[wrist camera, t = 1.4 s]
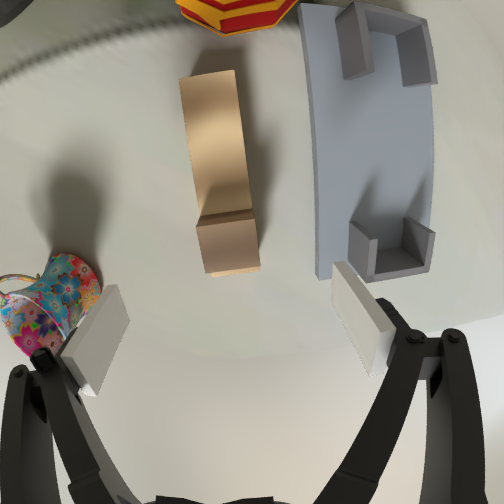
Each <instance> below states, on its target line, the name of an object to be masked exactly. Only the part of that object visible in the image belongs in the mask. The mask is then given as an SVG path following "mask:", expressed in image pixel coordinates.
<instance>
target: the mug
mask: <svg viewBox="0 0 504 504" xmlns="http://www.w3.org/2000/svg"><path fill="white" fill-rule="evenodd" d="M6 280H24V281H28V282H32V283H34V284H32V285H31V286H29V287H27V288H24V289H21V290H17V291H12V292H9V293H7V294H4V293H2V292H1V291H0V298H2V302H1V307H0V310H1V317H2V321H3V324H4V326H5V328H6V330H7V332H8V334H9V336H10V337H11V339H12V340H13V341H14V343H15V344H16V345H17V346H18V347H19V348H20V349H21V350H22V351H23V352H24V353H25V354H26V355H27V356H29V357H30V356H31V354H32V352H33V351H34V350H36V349H37V348H39V347H42V346H47V347H49V348H50V350H51V352H52V354H53V355H54V357H55V355H56V354H57V352H58V351H59V349H60V347H61V346H62V345H63V343H64V341H65V340H66V338H67V336H68V335H69V333H70V332H71V331H72V330H74V329H75V328H76V325H77V324H78V322H79V320H80V319H81V318H82V317H83V316H84V315H86V314H87V313H88V312H89V311H90V309H91V308H92V306H93V305H94V303H95V302H96V300H97V299H98V298H99V296H100V295H101V290H100V285H99V282H98V280H97V277H96V276H95V274H94V272H93V271H92V269H91V268H90V267H89V266H88V265H87V264H86V263H85V262H84V261H83V260H81V259H80V258H78V257H76V256H74V255H71V254H67V253H61V254H57V255H55V256H53V257H51V258H50V260H49V261H48V262H47V264H46V267H45V271H44V273H43V275H42V276H41V277H40V275H39V273H38V274H37V275H36V278H34V277H30V276H27V275H21V274H8V275H4V276H1V277H0V283H1V282H3V281H6Z"/></svg>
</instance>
